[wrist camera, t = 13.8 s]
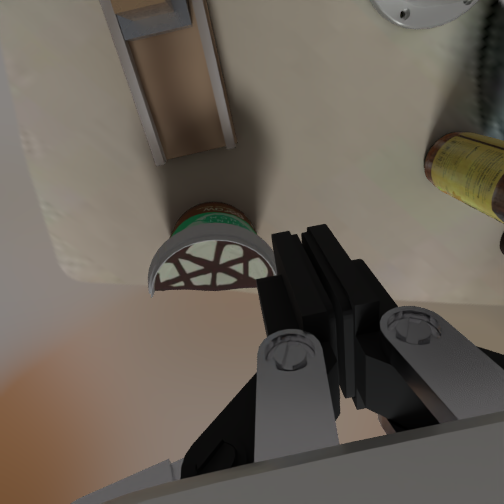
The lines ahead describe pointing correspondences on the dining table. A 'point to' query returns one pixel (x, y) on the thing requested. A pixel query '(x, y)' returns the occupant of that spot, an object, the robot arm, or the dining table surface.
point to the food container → (211, 252)
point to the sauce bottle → (469, 170)
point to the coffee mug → (502, 244)
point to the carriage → (151, 17)
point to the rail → (177, 86)
